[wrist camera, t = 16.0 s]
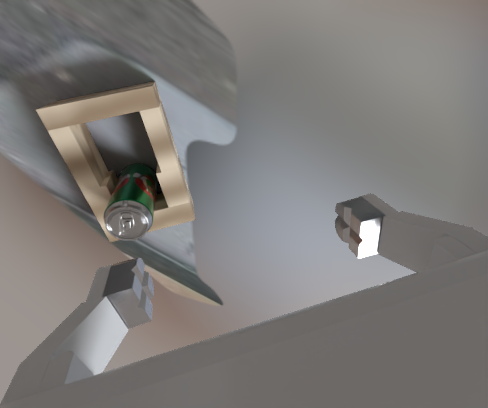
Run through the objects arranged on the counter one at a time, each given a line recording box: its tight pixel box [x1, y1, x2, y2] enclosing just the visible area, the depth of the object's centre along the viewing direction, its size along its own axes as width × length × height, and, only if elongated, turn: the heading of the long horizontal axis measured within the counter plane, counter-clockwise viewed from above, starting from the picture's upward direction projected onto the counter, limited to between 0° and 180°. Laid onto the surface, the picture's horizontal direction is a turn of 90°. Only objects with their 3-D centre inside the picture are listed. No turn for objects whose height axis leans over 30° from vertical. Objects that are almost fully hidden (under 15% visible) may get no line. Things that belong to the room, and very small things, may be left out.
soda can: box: [104, 164, 158, 241], centre depth 33 cm, size 5×5×12 cm
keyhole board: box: [36, 81, 195, 242], centre depth 35 cm, size 18×12×5 cm, turn 9°
